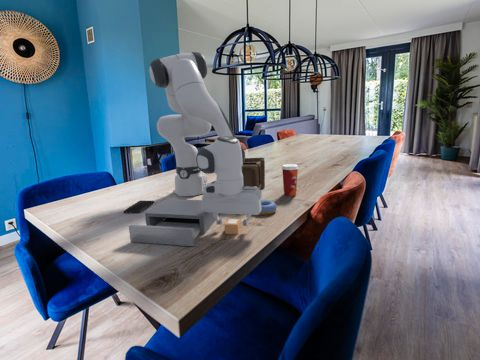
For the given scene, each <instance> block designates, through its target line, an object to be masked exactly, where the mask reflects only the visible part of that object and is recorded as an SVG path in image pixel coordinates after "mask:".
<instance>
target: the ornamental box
mask: <svg viewBox="0 0 480 360" xmlns="http://www.w3.org/2000/svg"><path fill="white" fill-rule="evenodd" d="M265 163H266V162H265V158H264V157H245V161H244V163H243V165H242V174H243V184H244V186H249V187H257V188H259V189H260V190H261V189H264V188H266V185H265V184H266V181H265V180H266V179H265V177H266V176H265V175H266V174H265V172H266V169H265V167H266V166H265ZM257 190H258V189H257Z"/></svg>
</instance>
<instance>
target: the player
mask: <svg viewBox="0 0 480 360" xmlns="http://www.w3.org/2000/svg"><path fill="white" fill-rule="evenodd" d="M217 215H218V216H219V217H220V213H218V214H217ZM144 216H145V218H144V219H145V225H148V226H155V225H156V224H157V223H159V222H164V221H165V220H166V219H167V218H170V219H171V218H173V219H187V220H188V219H189V220H199V224H200V233H199V234H201V235H205V234H206V233H207V232H208V230H209V229H210V228H211V227H212V225H214V223H215V222H216V220H215V218H214V217H213V213H207V212H204V211H203V210H202V199H182V198H181V199H178V198H177V199H176V198H175V199H172V198H166V199H164V200H162V201H160V202H159V203H158V204H156V205H155V206H153V207H152V208H150V209H148V210H147V211H146V212H144Z"/></svg>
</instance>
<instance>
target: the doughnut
mask: <svg viewBox="0 0 480 360" xmlns="http://www.w3.org/2000/svg"><path fill="white" fill-rule="evenodd" d="M260 200H261V199H260ZM261 207H262V209H261V212H260V213H259V214H258V215H259V216H268V215H269V216H270V215H271V214H275V212H276V211H277V208H278V207H277V204H276V203H275V202H274V201H272V200H269V199H262V200H261Z"/></svg>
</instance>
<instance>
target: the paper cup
mask: <svg viewBox="0 0 480 360" xmlns="http://www.w3.org/2000/svg"><path fill="white" fill-rule="evenodd" d="M281 169H282V182H283V185H282V186H283V194H284V196H285V197H286V196H287V197H294V196H296V195H297V186H298V170H299V167H298V164H295V163H286V164H283V165H282V167H281Z"/></svg>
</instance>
